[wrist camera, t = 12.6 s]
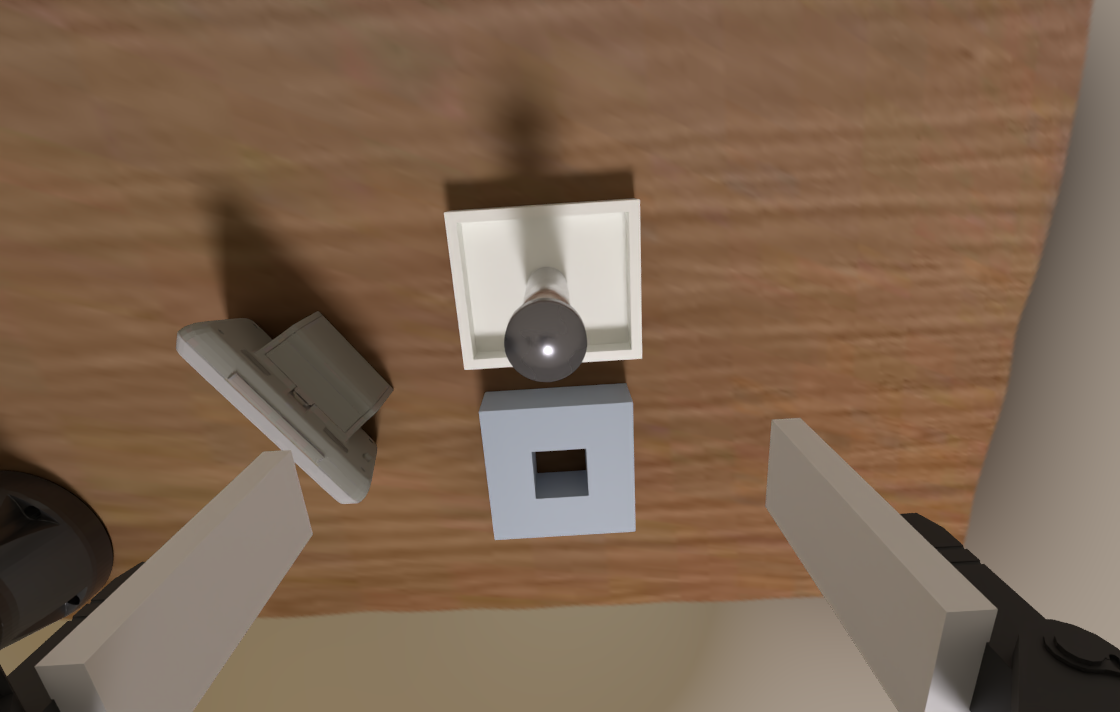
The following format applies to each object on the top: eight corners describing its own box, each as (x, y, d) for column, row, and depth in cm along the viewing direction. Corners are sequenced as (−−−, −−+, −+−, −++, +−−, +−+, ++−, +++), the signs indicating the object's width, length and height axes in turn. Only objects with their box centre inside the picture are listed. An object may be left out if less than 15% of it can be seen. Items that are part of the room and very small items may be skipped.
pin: (511, 268, 40) (492, 317, 27) (565, 251, 40) (573, 292, 27) (529, 320, 42) (519, 391, 28) (582, 304, 41) (597, 368, 28)
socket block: (499, 511, 48) (494, 539, 44) (485, 391, 44) (478, 411, 41) (629, 503, 48) (635, 531, 44) (626, 383, 44) (632, 402, 40)
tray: (469, 359, 43) (464, 369, 41) (450, 210, 40) (443, 212, 37) (637, 348, 43) (642, 358, 41) (634, 198, 39) (639, 199, 37)
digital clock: (223, 316, 42) (119, 360, 32) (316, 267, 41) (238, 296, 31) (337, 473, 47) (277, 554, 37) (423, 433, 46) (386, 505, 36)
